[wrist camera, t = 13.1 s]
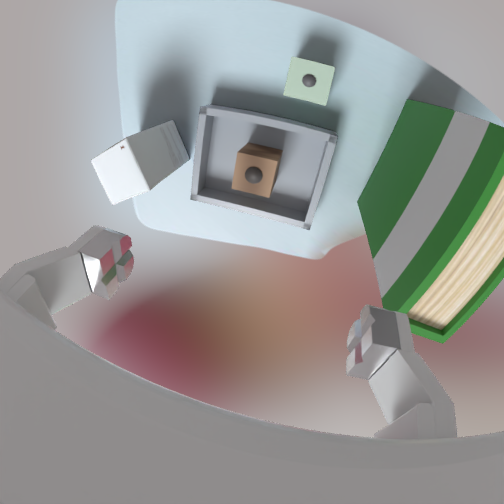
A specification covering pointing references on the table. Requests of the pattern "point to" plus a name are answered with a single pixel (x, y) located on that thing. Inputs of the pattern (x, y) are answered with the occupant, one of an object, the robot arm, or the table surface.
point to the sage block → (309, 80)
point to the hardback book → (437, 217)
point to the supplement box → (140, 161)
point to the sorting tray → (271, 135)
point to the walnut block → (256, 169)
